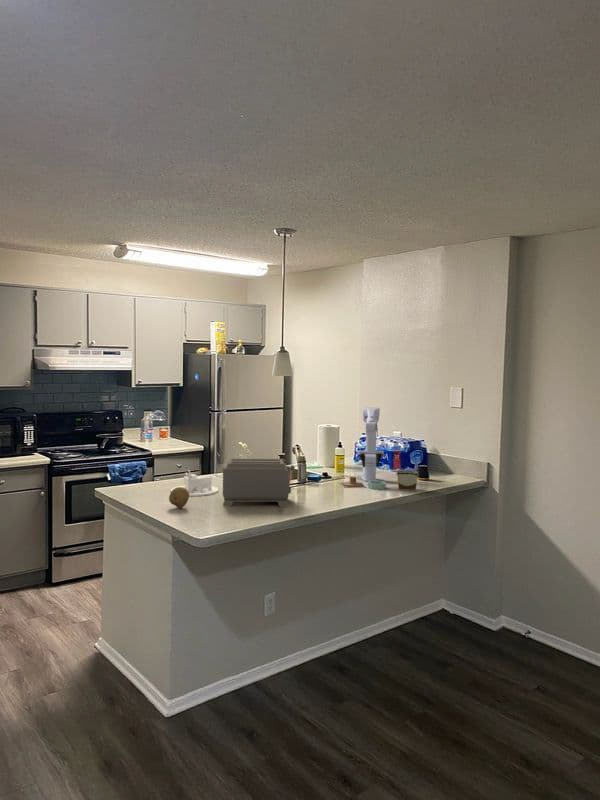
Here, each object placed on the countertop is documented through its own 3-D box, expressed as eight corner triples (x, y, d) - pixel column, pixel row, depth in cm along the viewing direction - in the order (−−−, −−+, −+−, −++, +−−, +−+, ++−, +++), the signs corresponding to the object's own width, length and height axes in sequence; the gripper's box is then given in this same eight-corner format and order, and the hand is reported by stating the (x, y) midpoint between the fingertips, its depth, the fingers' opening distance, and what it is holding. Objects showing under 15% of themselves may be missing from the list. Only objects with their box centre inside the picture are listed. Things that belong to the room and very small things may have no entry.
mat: (340, 483, 357) (340, 482, 357) (360, 483, 359) (360, 482, 359) (344, 487, 346) (344, 487, 346) (365, 487, 348) (365, 486, 347)
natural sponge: (173, 511, 286) (174, 489, 285) (165, 507, 293) (165, 486, 292) (192, 508, 291) (192, 487, 290) (183, 505, 298) (183, 484, 298)
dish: (175, 498, 313) (175, 476, 313) (167, 488, 337) (167, 467, 336) (223, 495, 322) (223, 473, 322) (211, 485, 346) (212, 465, 345)
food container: (417, 488, 349) (418, 470, 348) (418, 490, 342) (419, 472, 342) (395, 487, 350) (395, 469, 349) (395, 489, 344) (396, 471, 343)
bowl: (365, 485, 352) (365, 480, 351) (382, 485, 353) (383, 480, 353) (370, 489, 342) (370, 484, 342) (388, 489, 343) (388, 484, 343)
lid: (341, 482, 357) (341, 475, 357) (359, 482, 359) (360, 475, 358) (345, 486, 346) (345, 479, 346) (364, 486, 348) (365, 479, 348)
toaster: (295, 506, 300) (296, 464, 298) (222, 506, 297) (222, 464, 295) (292, 497, 319) (293, 458, 317) (224, 497, 316) (224, 457, 315)
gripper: (360, 444, 348) (359, 468, 349) (385, 444, 350) (384, 468, 351) (357, 442, 355) (356, 466, 356) (382, 442, 357) (381, 466, 358)
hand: (370, 467), depth 354 cm, fingers open, 7 cm apart
